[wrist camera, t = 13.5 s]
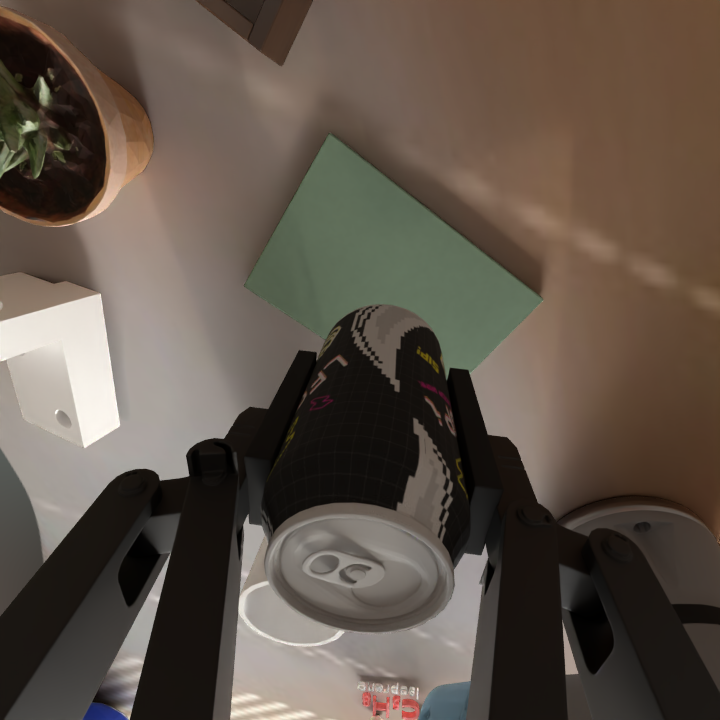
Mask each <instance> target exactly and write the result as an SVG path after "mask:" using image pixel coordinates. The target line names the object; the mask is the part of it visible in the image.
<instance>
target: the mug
mask: <svg viewBox="0 0 720 720" xmlns="http://www.w3.org/2000/svg"><path fill="white" fill-rule="evenodd" d="M267 546H268V542H267V539H266V536H265V537H264V539H263V541H262V544H261V546H260V549H259V551H258V553H257V556H256V558H255V561H254V563H253V565H252V568H251V570H250V573H249V575H248V577H247V580H246V582H245V585H244V587H243V589H242V592H241V594H240V597H239V607H238V610H239V613H240V616H241V617H242V619H243V620H244V621H245V623H246V624H247V625H248V626H249V627H251V628H252V629H253V630H254V631H255V632H257V633H259V634H261V635H262V636H264V637H266V638H268V639H271V640H274V641H276V642H279V643H283V644H288V645H292V646H305V647H308V646H319V645H323V644H327V643H330V642H332V641H334V640H336V639H338V638H339V637H340V636H341V635H342V634H343V633H344V632H345V631H341V630H337V629H333V628H329V627H326V626H324V625H321V624H318V623H316V622H313V621H311V620H309V619H307V618H305V617H304V616H302V615H300V614H298V613H297V612H295V611H294V610H293V609H291V608H290V607H288V606H287V605H286V604H285V603H284V602H283V601H282V600H281V599H280V598H279V597H278V596H277V595H276V594H275V592H274V591H273V589H272V588H271V586H270V585H269V582H268V580H267V577H266V574H265V567H264V558H265V554H266V550H267Z"/></svg>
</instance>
